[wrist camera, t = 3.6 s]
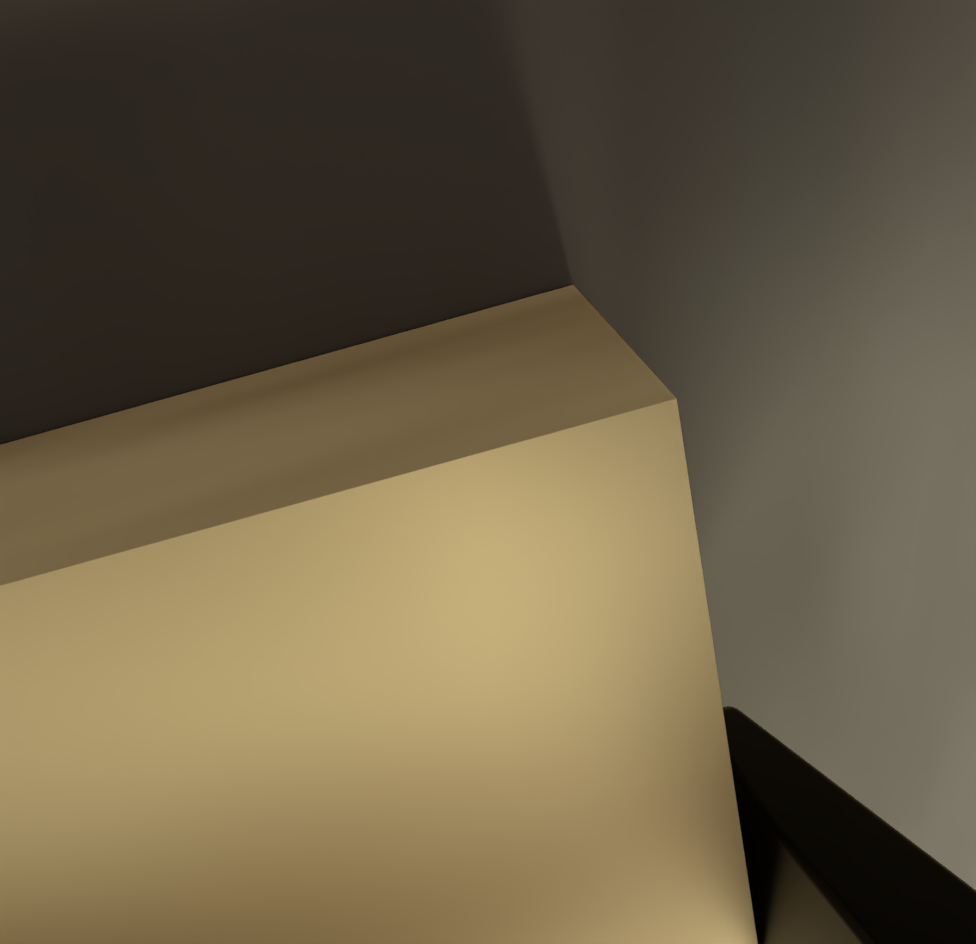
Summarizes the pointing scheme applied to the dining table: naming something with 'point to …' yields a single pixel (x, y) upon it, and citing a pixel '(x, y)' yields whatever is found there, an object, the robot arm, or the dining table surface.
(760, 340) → the dining table surface
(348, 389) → the brass block
